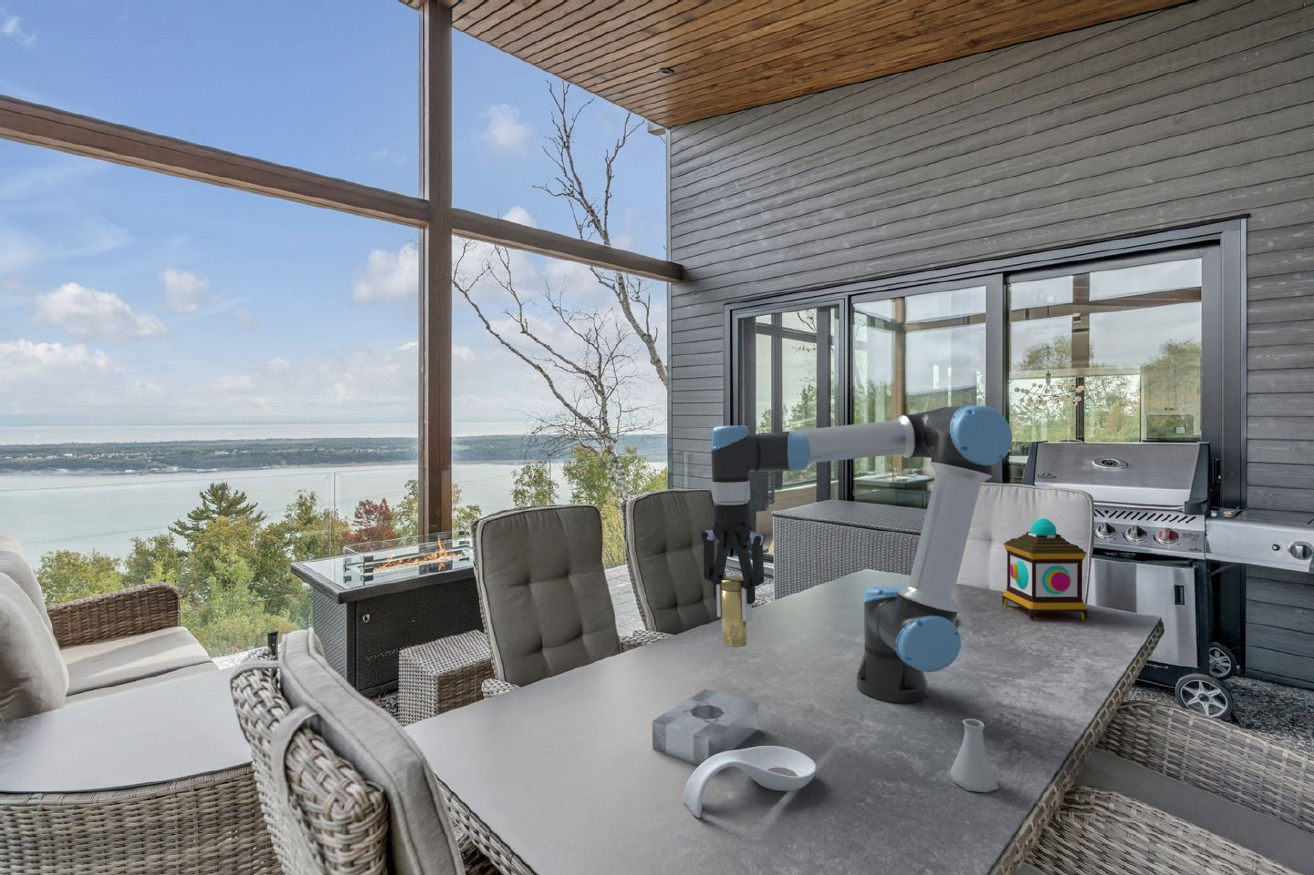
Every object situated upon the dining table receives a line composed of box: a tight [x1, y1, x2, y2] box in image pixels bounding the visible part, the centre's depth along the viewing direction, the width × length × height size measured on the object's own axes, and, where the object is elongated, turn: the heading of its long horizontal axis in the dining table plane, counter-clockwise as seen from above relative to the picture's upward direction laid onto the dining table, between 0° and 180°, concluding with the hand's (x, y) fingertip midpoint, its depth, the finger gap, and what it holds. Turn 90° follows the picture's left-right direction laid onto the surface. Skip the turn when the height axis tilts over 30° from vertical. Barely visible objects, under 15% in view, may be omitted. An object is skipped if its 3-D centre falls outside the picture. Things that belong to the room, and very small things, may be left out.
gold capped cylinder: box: [721, 575, 749, 648], centre depth 133 cm, size 5×5×13 cm
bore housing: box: [651, 688, 759, 767], centre depth 123 cm, size 12×18×6 cm, turn 143°
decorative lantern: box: [1001, 517, 1089, 621], centre depth 208 cm, size 20×20×30 cm
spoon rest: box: [682, 745, 818, 819], centre depth 107 cm, size 24×12×7 cm, turn 119°
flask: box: [949, 718, 1000, 793], centre depth 110 cm, size 7×7×10 cm
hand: (734, 616), depth 133 cm, fingers closed on gold capped cylinder, 5 cm apart
